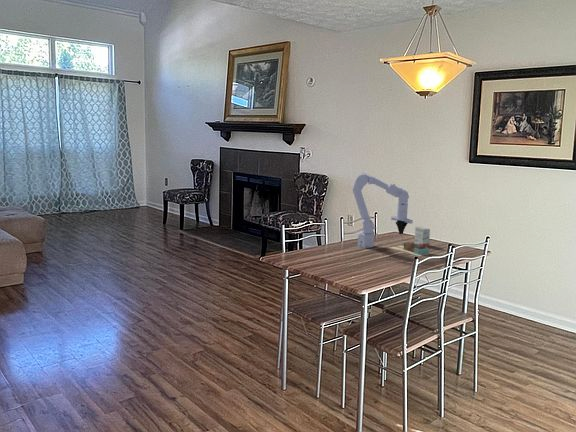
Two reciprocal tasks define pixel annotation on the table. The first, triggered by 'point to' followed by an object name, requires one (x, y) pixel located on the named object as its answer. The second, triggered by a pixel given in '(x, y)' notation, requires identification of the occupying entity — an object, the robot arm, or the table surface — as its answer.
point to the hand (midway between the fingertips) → (400, 233)
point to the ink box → (422, 236)
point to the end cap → (421, 251)
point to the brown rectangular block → (412, 246)
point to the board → (401, 248)
